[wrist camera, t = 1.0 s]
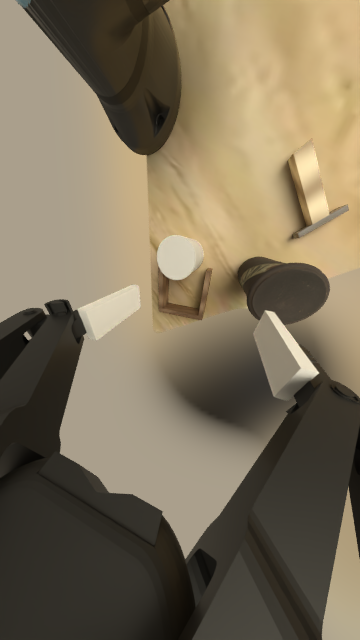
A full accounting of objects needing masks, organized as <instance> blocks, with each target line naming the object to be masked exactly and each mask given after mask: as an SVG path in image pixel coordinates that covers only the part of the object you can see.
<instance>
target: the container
mask: <svg viewBox="0 0 360 640" xmlns="http://www.w3.org/2000/svg"><path fill="white" fill-rule="evenodd" d="M238 280H239V282H240V285H241V286H242V288H243V290H244V292H245V294H246V295H247V306H248V309H249V311H250V312H251V314H252V315H253V316H254V317H255V318H257V319H258V320H260V319H261V317H262V315H263V313H264V311H265V310H266V311H271V312H274V313H275V314H276V315H277V317H278V318H279V319H280V321H281V322H282V323H283V325H286V324H291V323H295V322H298V321H301V320H303V319H306V318H308V317H309V316H311V315H312V314H314V313H315V312H317V311H318V310H319V309H320V308H321V307H322V306H323V305H324V303H325V302H326V300H327V298H328V295H329V291H330V286H329V281H328V279H327V277H326V276H325V275H324V274H323V273H322V271H320V270H319V269H318V268H316V267H314V266H312V265H309V264H304V263H287V264H286V263H282V262H278V261H274V260H271V259H268V258H264V257H254V258H251V259H248V260H247V261H245V262H244V263H243V264H242V265H241V266H240V268H239V271H238Z"/></svg>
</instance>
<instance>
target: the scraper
mask: <svg viewBox="0 0 360 640" xmlns="http://www.w3.org/2000/svg"><path fill="white" fill-rule="evenodd" d="M288 164H289V167H290V171H291V174H292V178H293V181H294V185H295V188H296V192H297V195H298V199H299V202H300V206H301V209H302V213H303V216H304V220H305V223H306V227H304V228H302V229H301V230H299V231H297V232H295V233H294V234H293V236H294V238H300V237H302V236H304V235H305V234H307V233H309V232H311V231H313V230H314V229H316V228H318V227H320V226H321V225H323V224H325V223H327V222H329V221H330V220H332V219H334V218H336V217H338V216H339V215H341V214H343V213H345V212H347V211H348V210H349V209H348V204H347V205H345V206H342V207H339V208H337V209H335V210H333V211H332V212H330V213H329V210H328V205H327V201H326V197H325V192H324V188H323V184H322V179H321V175H320V171H319V166H318V162H317V157H316V153H315V149H314V144H313V140H312V138H311V139H310V140H309V141H308V142H306V143H305V144H304V145H303V146H302V147H300V148H299V149H298V150H297V151H296V152H294V153H293V155H292V156H291V157H290V159H289V160H288Z"/></svg>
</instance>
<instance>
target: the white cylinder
mask: <svg viewBox="0 0 360 640" xmlns="http://www.w3.org/2000/svg"><path fill="white" fill-rule="evenodd" d="M203 258H204V252H203V248H202V246H201V244H200V243H199V242H198V241H196V240H194V239H190V238H187V237H183V236H180V235H171V236H169V237H167V238H165V239H164V240H163V241H162V242H161V244H160V246H159V248H158V251H157V262H158V266H159V268H160V270H161V272H162V273H163V274H164V275H165V276H166V277H168V278H170V279H172V280H181V279H184V278H186V277H187V276H189V275H190V274H191V273H192V272H194V271H195V270H196V269H197V268H199V267H200V265H201V264H202V262H203Z"/></svg>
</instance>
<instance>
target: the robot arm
mask: <svg viewBox="0 0 360 640" xmlns="http://www.w3.org/2000/svg"><path fill="white" fill-rule="evenodd" d="M16 1H17V2H18V4H20V5H21V6H22V7H23V9H25V11H26V12H27V13H28V14H29V16H30V17H31V18H32V19H33V20H34V21H35V23H36V24H37V25H38V26H39V27H40V29H41V30H42V31H43V32H44V33H45V34H46V36H47V37H48V38H49V39H50V40H51V41H52V43H53V44H54V45H55V46H56V47H57V48H58V50H59V51H60V52H61V53H62V54H63V56H64V57H65V58H66V59H67V60H68V61H69V62H70V64H71V65H72V66H73V67H74V68H75V70H76V71H77V72H78V73H79V74H80V75H81V77H82V78H83V79H84V80H85V81H86V83H87V84H88V85H89V86H90V87H91V88H92V89H93V91H94V92H95V93H96V94H97V96H98V98H99V100H100V102H101V104H102V106H103V108H104V110H105V112H106V114H107V116H108V118H109V120H110V122H111V124H112V127H113V128H114V130H115V132H116V133H117V135H118V136H119V137H120V139H121V140H122V141H123V142H124V143H125V144H126V145H127V146H128V147H129V148H130V149H131V150H132V151H133V152H135V153H137V154H140V155H148V154H152V153H154V152H155V151H157V150H158V149H159V148H160V147H161V146H162V145H163V144H164V143H165V142H166V140H167V138H168V137H169V135H170V133H171V131H172V129H173V126H174V124H175V120H176V117H177V113H178V109H179V103H180V96H181V66H180V58H179V53H178V49H177V44H176V40H175V36H174V32H173V28H172V25H171V22H170V19H169V17H168V14H167V12H166V10H165V8H164V6H163V5H164V4H165V3H166V2H168V1H169V0H16ZM45 307H46V308H47V310H48V312H49V314H50V315H45V313H44V311H43V309H40V308H30V309H26V310H23V311H21V312H19V313H17V314H15V315H13V316H11V317H10V318H8V319H6V320H4V321H3V322H1V323H0V640H322V625H323V619H324V613H325V607H326V603H327V597H328V592H329V587H330V581H331V575H332V571H333V565H334V560H335V555H336V549H337V544H338V538H339V533H340V527H341V522H342V517H343V512H344V506H345V500H346V496H347V490H348V486H349V492H350V499H351V505H352V512H353V518H354V525H355V531H356V537H357V544H358V551H359V557H360V398H359V397H358V396H357V395H356V394H355V393H354V392H353V391H352V390H350V389H349V388H347V387H346V386H344V385H342V384H340V383H338V382H336V381H333V380H331V379H330V377H329V376H328V375H327V374H326V372H325V371H324V370H323V369H322V367H321V366H320V365H319V364H318V363H317V361H316V360H315V359H314V358H313V356H312V355H311V354H310V352H309V351H308V350H307V349H305V348H304V347H303V346H302V345H300V344H297V343H296V341H295V340H294V338H293V337H292V336H291V334H290V333H289V332H288V330H287V329H286V328H285V327H284V325H283V323H282V322H281V321H280V319H279V318H278V317H277V315H276V314H275V313H274V312H271V311H266V310H265V311H264V313H263V315H262V317H261V319H260V321H259V323H258V325H257V327H256V329H255V331H254V333H253V335H254V338H255V341H256V344H257V347H258V350H259V353H260V356H261V359H262V362H263V365H264V369H265V372H266V375H267V377H268V381H269V384H270V387H271V390H272V393H273V396H274V397H276V398H279V399H282V400H285V401H288V400H290V399H291V398H292V397H293V396H294V397H295V399H296V402H297V403H296V404H295V405H294V406H292V407H291V408H290V409H289V410H288V411H286V412H287V413H288V414H287V416H286V417H285V419H284V420H283V422H282V423H281V425H280V426H279V428H278V429H277V431H276V432H275V434H274V435H273V437H272V438H271V440H270V441H269V443H268V444H267V446H266V447H265V449H264V450H263V452H262V453H261V454H260V456H259V457H258V459H257V460H256V462H255V463H254V465H253V466H252V468H251V470H250V471H249V472H248V474H247V475H246V477H245V479H244V480H243V481H242V483H241V484H240V486H239V487H238V489H237V490H236V492H235V493H234V495H233V496H232V498H231V499H230V501H229V502H228V503H227V505H226V506H225V508H224V509H223V511H222V512H221V514H220V515H219V516H218V517H217V518H216V519H215V520H214V521H213V523H211V524H210V526H209V527H208V528H207V529H206V531H205V532H204V533H203V535H202V536H201V537H200V539H199V541H198V542H197V543H196V545H195V546H194V548H193V549H192V551H191V552H190V554H189V555H188V557H187V558H186V559H185V558H184V555H183V552H182V550H181V546H180V545H179V542H178V540H177V538H176V536H175V533H174V531H173V530H172V528H171V527H170V525H169V523H168V522H167V520H166V519H165V518H164V517H163V515H162V511H161V510H159V509H157V508H156V507H154V506H152V505H150V504H148V503H147V502H145V501H143V500H141V499H140V498H138V497H136V496H134V495H132V494H116V493H109V492H108V491H107V489H106V488H105V486H104V485H103V484H102V482H101V481H100V479H99V478H98V477H97V476H96V475H94V474H93V473H91V472H90V471H88V470H86V469H85V468H83V467H82V466H80V465H79V464H77V463H76V462H74V461H72V460H70V459H68V458H66V457H65V456H63V455H61V454H60V446H61V444H60V443H61V442H60V437H59V430H60V426H61V423H62V419H63V415H64V412H65V408H66V404H67V401H68V397H69V393H70V389H71V386H72V382H73V378H74V374H75V371H76V367H77V363H78V360H79V355H80V352H81V348H82V345H83V341H84V337H83V335H84V334H85V333H87V335H88V338H89V339H92V340H95V341H97V340H98V339H100V338H101V337H102V336H103V335H105V334H106V333H108V332H109V331H110V330H112V329H113V328H114V327H116V326H117V325H118V324H119V323H120V322H122V321H123V320H125V319H126V318H127V317H129V316H130V315H131V314H132V313H134V312H135V311H137V310H138V309H139V308H140V307H141V306H140V294H139V286H138V285H130V286H128V287H126V288H123V289H121V290H119V291H117V292H115V293H112V294H110V295H108V296H105V297H103V298H101V299H99V300H97V301H94V302H92V303H90V304H87V305H85V306H83V307H81V308H79V309H77V310H75V311H73V310H72V308H71V305H70V303H69V301H68V300H54V301H50V302H47V303H46V304H45ZM26 331H27V332H28V333H29V335H30V336H31V337H32V339H30V340H27V339H26V337H25V336H24V335H23V334H24V333H25V332H26Z"/></svg>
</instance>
